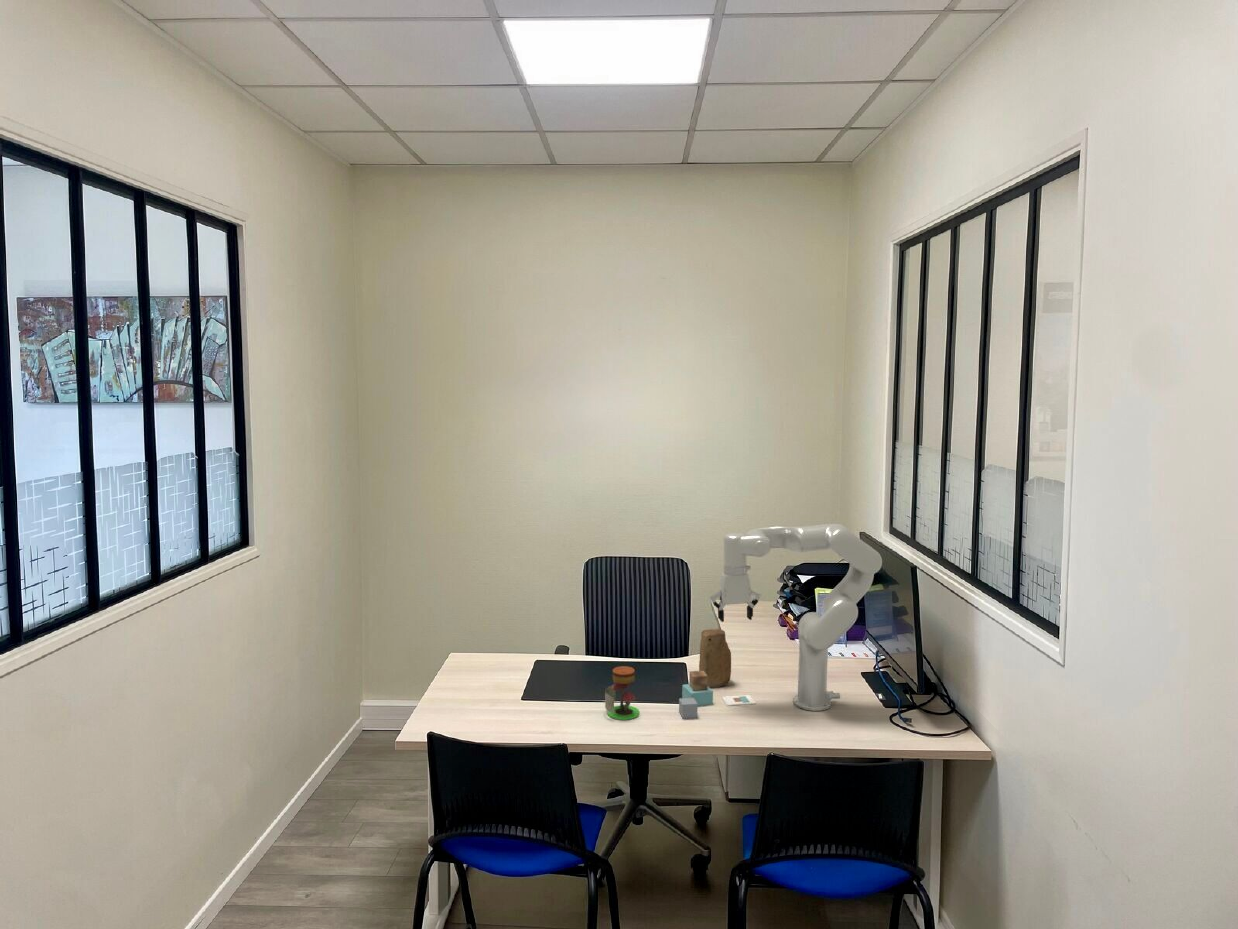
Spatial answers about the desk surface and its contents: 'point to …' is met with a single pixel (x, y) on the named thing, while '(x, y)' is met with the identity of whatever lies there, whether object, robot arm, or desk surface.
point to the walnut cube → (698, 680)
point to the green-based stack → (621, 681)
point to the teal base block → (698, 695)
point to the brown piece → (715, 657)
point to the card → (738, 700)
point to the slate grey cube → (688, 708)
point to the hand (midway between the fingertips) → (735, 619)
